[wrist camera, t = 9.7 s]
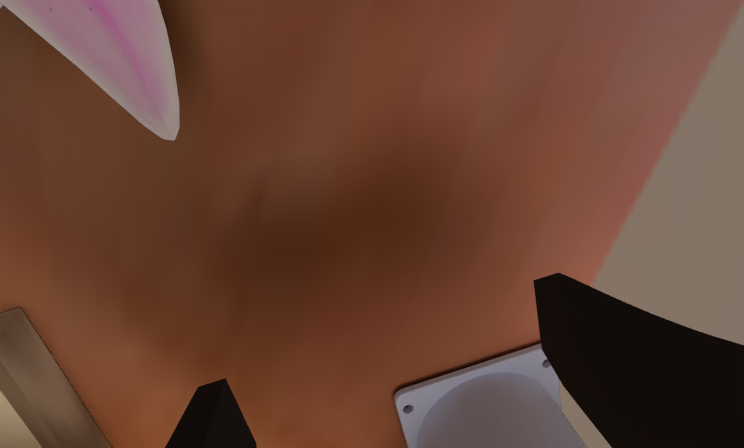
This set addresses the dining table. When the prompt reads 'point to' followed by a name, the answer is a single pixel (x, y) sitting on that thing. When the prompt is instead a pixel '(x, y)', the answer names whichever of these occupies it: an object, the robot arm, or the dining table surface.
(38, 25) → the lily
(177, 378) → the dining table surface
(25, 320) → the beech base
